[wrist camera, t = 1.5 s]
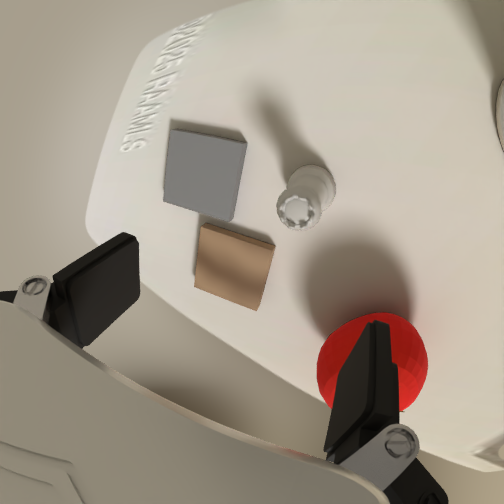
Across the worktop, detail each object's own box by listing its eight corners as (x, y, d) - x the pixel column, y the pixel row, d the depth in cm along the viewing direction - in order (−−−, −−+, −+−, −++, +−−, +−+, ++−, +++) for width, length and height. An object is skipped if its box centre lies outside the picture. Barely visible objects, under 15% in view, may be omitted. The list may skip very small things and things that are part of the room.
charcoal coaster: (176, 128, 28) (170, 129, 27) (247, 142, 27) (242, 143, 26) (169, 198, 32) (163, 201, 31) (233, 218, 31) (228, 222, 30)
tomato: (356, 381, 35) (346, 447, 26) (305, 325, 33) (282, 394, 24) (436, 344, 29) (448, 414, 20) (394, 275, 27) (403, 345, 18)
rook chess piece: (296, 214, 28) (275, 248, 21) (283, 170, 27) (256, 189, 20) (341, 205, 26) (335, 237, 19) (329, 159, 25) (319, 173, 18)
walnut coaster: (205, 222, 32) (200, 226, 31) (275, 246, 30) (272, 250, 29) (198, 281, 36) (194, 286, 35) (259, 305, 34) (256, 311, 33)
